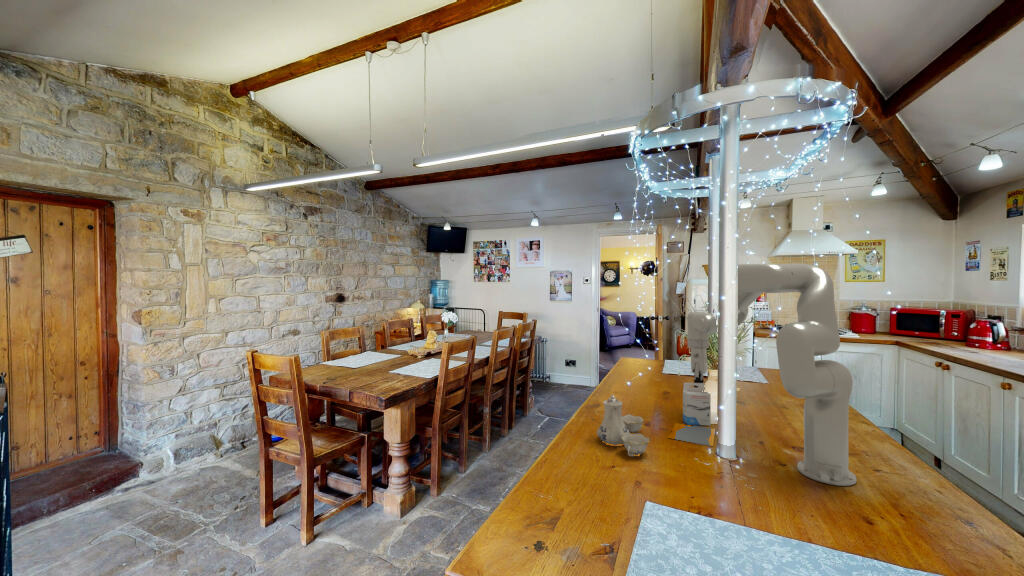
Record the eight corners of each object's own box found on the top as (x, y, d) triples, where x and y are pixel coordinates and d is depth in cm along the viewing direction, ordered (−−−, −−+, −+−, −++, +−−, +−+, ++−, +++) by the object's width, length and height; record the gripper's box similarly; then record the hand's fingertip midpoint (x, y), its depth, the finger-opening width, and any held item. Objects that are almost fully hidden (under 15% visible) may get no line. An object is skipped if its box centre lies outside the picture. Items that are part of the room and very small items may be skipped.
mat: (713, 447, 125) (713, 446, 125) (667, 438, 132) (667, 437, 132) (716, 429, 139) (716, 429, 139) (675, 423, 146) (675, 422, 146)
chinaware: (655, 468, 115) (661, 413, 114) (599, 460, 117) (604, 406, 117) (639, 432, 143) (643, 387, 142) (593, 425, 145) (597, 382, 145)
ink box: (687, 425, 143) (686, 385, 143) (682, 420, 148) (682, 382, 148) (711, 425, 142) (710, 385, 142) (705, 421, 147) (705, 382, 147)
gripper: (706, 347, 143) (707, 396, 143) (710, 341, 155) (711, 386, 156) (684, 345, 147) (685, 393, 147) (690, 340, 159) (691, 384, 160)
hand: (698, 389), depth 151 cm, fingers closed
